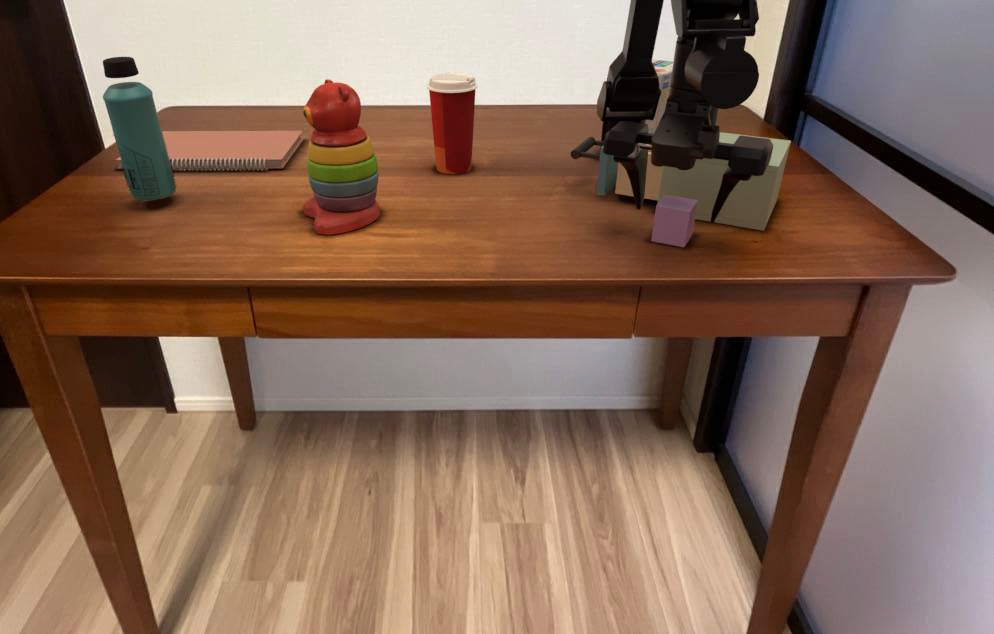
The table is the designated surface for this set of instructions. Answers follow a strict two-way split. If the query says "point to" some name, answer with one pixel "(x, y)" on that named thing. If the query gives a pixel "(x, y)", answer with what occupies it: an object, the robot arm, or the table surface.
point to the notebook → (229, 149)
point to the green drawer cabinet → (744, 202)
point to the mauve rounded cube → (674, 220)
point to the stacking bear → (339, 162)
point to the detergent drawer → (618, 172)
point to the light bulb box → (664, 77)
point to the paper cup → (452, 120)
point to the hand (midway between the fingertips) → (675, 214)
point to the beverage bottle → (137, 133)
